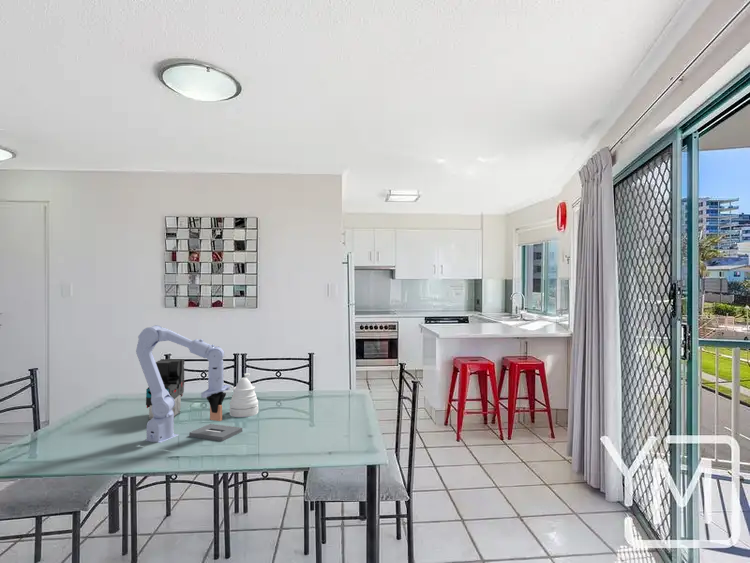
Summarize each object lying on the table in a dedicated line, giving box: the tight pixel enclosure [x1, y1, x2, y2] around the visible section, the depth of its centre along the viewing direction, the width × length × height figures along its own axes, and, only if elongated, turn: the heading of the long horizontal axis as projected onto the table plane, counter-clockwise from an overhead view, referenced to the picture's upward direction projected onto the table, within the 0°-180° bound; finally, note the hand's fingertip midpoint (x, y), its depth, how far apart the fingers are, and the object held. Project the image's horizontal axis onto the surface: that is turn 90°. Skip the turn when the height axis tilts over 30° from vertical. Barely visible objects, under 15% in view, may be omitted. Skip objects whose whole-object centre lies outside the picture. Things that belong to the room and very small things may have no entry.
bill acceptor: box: [145, 358, 185, 421], centre depth 208 cm, size 10×23×25 cm, turn 8°
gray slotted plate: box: [188, 423, 243, 442], centre depth 184 cm, size 12×16×2 cm
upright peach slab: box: [209, 404, 223, 422], centre depth 184 cm, size 1×5×6 cm, turn 68°
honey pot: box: [229, 372, 259, 418], centre depth 215 cm, size 13×13×18 cm
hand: (216, 411), depth 184 cm, fingers closed on upright peach slab, 1 cm apart
